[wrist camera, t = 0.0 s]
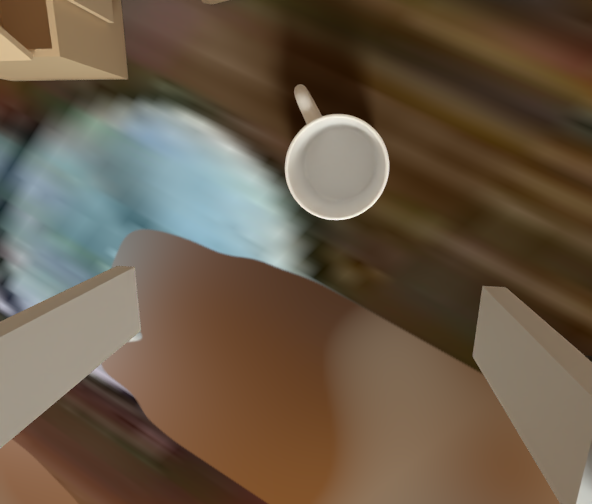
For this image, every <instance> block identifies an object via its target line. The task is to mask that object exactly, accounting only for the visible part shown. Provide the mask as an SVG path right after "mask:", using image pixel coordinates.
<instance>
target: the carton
mask: <svg viewBox="0 0 592 504" xmlns="http://www.w3.org/2000/svg"><path fill="white" fill-rule="evenodd" d="M0 26H1V27H2V28H3V29H4V30H5V31H7V32H8V33H9V34H10V35H11V36H12V37H14V38H15V39H16V40H17V41H18V42H19V43H20V44H22V45H23V46H24V47H25V48H26V49H27V50H28V51H30V52H31V53H32V54H33V59H32V60H23V61H0V79H5V80H10V81H43V80H109V79H128V70H127V59H126V48H125V37H124V26H123V15H122V4H121V0H0Z"/></svg>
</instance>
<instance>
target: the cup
mask: <svg viewBox="0 0 592 504" xmlns="http://www.w3.org/2000/svg"><path fill="white" fill-rule="evenodd" d="M294 95H295V98H296V101H297V104H298V106H299V109H300V111H301V113H302V115H303V117H304V120H305V122H306V124H307V125H305V126H304V127H303V128H302V129H301V130H300V131H299V132H298V133H297V134H296V136H295V137H294V139H293V140H292V142H291V144H290V146H289V148H288V151H287V155H286V160H285V176H286V181H287V185H288V188H289V190H290V192H291V194H292V196H293V197H294V199H295V200H296V201H297V202H298V204H299V205H300V206H301V207H302V208H304V209H305V210H306V211H308V212H309V213H311V214H313V215H315V216H317V217H320V218H323V219H328V220H344V219H349V218H352V217H355V216H357V215H359V214H361V213H363V212H364V211H366V210H367V209H369V208H370V207H371V206H372V205H373V204H374V203H375V202H376V201H377V200H378V198H379V197H380V195H381V194H382V192H383V190H384V188H385V186H386V183H387V179H388V175H389V157H388V152H387V149H386V146H385V144H384V142H383V140H382V138H381V137H380V135H379V134H378V133H377V131H376V130H375V129H374V128H373V127H372V126H371V125H369V124H368V123H367V122H365V121H363V120H362V119H360V118H357V117H355V116H351V115H347V114H330V115H325V116H322V115H321V113H320V111H319V109H318V107H317V105H316V104H315V102H314V100H313V98H312V96H311V95H310V93H309V91H308V90H307V88H306V87H305V86H304V85H302V84H299V85H297V86H296V87H295V89H294Z"/></svg>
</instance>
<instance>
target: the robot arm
mask: <svg viewBox="0 0 592 504" xmlns="http://www.w3.org/2000/svg"><path fill="white" fill-rule="evenodd" d="M140 331H141V326H140V316H139V305H138V295H137V285H136V275H135V267H126V266H116V267H114V268H112V269H110V270H107V271H105V272H103V273H101V274H99V275H97V276H95V277H93V278H91V279H89V280H87V281H84V282H82V283H80V284H78V285H76V286H74V287H72V288H70V289H68V290H66V291H64V292H61V293H59V294H57V295H55V296H53V297H51V298H49V299H47V300H45V301H43V302H41V303H38V304H36V305H34V306H32V307H30V308H28V309H26V310H24V311H22V312H20V313H18V314H15V315H13V316H11V317H9V318H7V319H5V320H3V321H1V322H0V448H1V447H3V446H4V445H5V444H6V443H7V442H8V441H10V440H11V439H12V438H13V437H15V436H16V435H17V434H18V433H19V432H21V431H22V430H23V429H24V428H25V427H26V426H28V425H29V424H30V423H31V422H32V421H34V420H35V419H36V418H37V417H38V416H40V415H41V414H42V413H43V412H44V411H46V410H47V409H48V408H49V407H50V406H52V405H53V404H54V403H55V402H56V401H57V400H59V399H60V398H61V397H62V396H63V395H65V394H66V393H67V392H68V391H69V390H71V389H72V388H73V387H74V386H75V385H77V384H78V383H79V382H80V381H81V380H83V379H84V378H85V377H86V376H87V375H88V374H90V373H91V372H92V371H93V370H94V369H96V368H97V367H98V366H99V365H100V364H102V363H103V362H104V361H105V360H106V359H108V358H109V357H110V356H111V355H112V354H114V353H115V352H116V351H117V350H118V349H119V348H120V347H122V346H123V345H124V344H125V343H127V342H128V341H129V340H130V339H131V338H133V337H134V336H135V335H136V334H137V333H139V332H140ZM473 358H474V360H475V361H476V363H477V365H478V366H479V368H480V370H481V371H482V373H483V375H484V376H485V378H486V380H487V381H488V383H489V385H490V386H491V388H492V390H493V391H494V393H495V395H496V396H497V398H498V400H499V402H500V403H501V405H502V407H503V408H504V410H505V411H506V413H507V415H508V417H509V418H510V420H511V422H512V423H513V425H514V427H515V428H516V430H517V432H518V433H519V435H520V437H521V438H522V440H523V442H524V443H525V445H526V447H527V448H528V450H529V452H530V453H531V455H532V457H533V459H534V460H535V462H536V464H537V465H538V467H539V468H540V470H541V472H542V474H543V475H544V477H545V479H546V480H547V482H548V484H549V485H550V487H551V489H552V490H553V492H554V494H555V495H556V497H557V499H558V500H559V502H560V504H592V356H584V355H583V354H582V353H581V352H580V351H578V350H577V349H576V348H575V347H574V346H573V345H572V344H570V343H569V342H568V341H567V340H566V339H565V338H563V337H562V336H561V335H560V334H559V333H558V332H557V331H555V330H554V329H553V328H552V327H551V326H550V325H548V324H547V323H546V322H545V321H544V320H543V319H542V318H540V317H539V316H538V315H537V314H536V313H535V312H533V311H532V310H531V309H530V308H529V307H528V306H527V305H525V304H524V303H523V302H522V301H521V300H520V299H518V298H517V297H516V296H515V295H514V294H513V293H512V292H510V291H509V290H508V289H507V288H506V287H490V286H483V287H482V294H481V301H480V308H479V315H478V322H477V329H476V336H475V343H474V350H473Z"/></svg>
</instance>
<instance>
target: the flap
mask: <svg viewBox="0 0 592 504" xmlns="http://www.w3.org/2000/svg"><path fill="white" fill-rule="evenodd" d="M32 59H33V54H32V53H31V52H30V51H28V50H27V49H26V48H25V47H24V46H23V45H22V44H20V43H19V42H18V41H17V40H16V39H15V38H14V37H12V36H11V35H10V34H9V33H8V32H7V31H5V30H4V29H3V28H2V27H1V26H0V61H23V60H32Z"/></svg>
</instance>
